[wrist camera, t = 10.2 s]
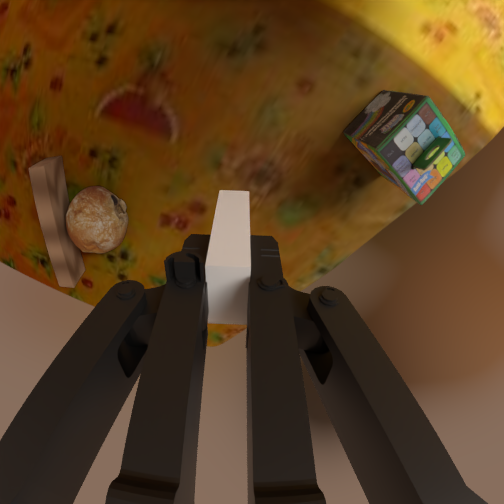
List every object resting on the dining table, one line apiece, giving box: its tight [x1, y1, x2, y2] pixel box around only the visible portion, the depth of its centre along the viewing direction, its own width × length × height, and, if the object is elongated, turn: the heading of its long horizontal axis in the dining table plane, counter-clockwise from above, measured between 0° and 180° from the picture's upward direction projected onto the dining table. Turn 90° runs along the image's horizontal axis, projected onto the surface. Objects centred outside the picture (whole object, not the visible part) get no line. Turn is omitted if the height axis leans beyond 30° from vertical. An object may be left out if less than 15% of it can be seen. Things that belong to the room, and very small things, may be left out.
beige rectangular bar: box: [29, 156, 85, 288], centre depth 39 cm, size 20×3×5 cm, turn 177°
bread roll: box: [66, 186, 128, 253], centre depth 40 cm, size 10×10×8 cm
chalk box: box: [343, 90, 465, 205], centre depth 30 cm, size 9×9×15 cm
